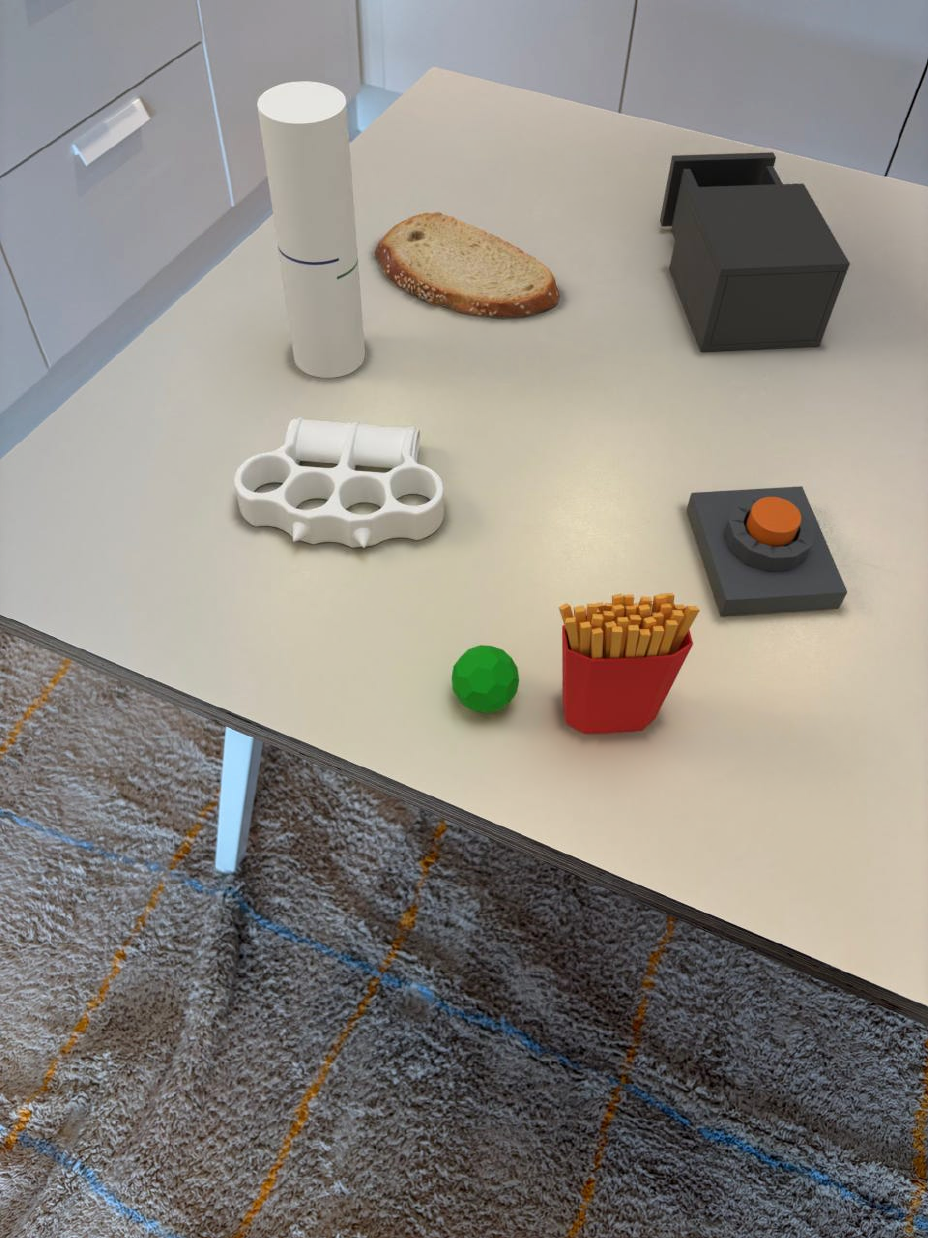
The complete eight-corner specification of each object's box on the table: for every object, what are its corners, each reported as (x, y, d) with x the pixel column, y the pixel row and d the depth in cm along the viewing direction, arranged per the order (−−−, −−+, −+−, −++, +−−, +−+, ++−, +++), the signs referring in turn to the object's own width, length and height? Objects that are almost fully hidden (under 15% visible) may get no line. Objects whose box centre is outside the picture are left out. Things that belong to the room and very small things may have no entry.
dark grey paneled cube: (668, 269, 110) (685, 187, 103) (778, 264, 111) (803, 182, 104) (700, 352, 102) (721, 268, 94) (819, 346, 103) (850, 263, 95)
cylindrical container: (284, 342, 101) (246, 89, 81) (351, 326, 103) (329, 75, 83) (306, 385, 97) (271, 130, 77) (375, 367, 99) (358, 113, 79)
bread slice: (567, 311, 105) (571, 280, 102) (401, 334, 102) (400, 303, 99) (520, 220, 116) (523, 189, 113) (368, 238, 113) (366, 208, 110)
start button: (740, 512, 83) (745, 497, 82) (787, 509, 83) (793, 494, 82) (753, 548, 81) (759, 533, 79) (801, 545, 81) (808, 530, 79)
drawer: (651, 201, 117) (663, 135, 111) (745, 198, 118) (762, 132, 112) (686, 290, 107) (702, 223, 100) (789, 285, 107) (811, 219, 101)
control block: (685, 509, 88) (695, 477, 85) (795, 503, 89) (808, 470, 86) (720, 617, 81) (731, 585, 78) (839, 608, 82) (855, 577, 78)
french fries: (659, 683, 77) (693, 575, 66) (670, 731, 74) (707, 626, 64) (541, 689, 76) (557, 581, 66) (548, 738, 74) (566, 633, 63)
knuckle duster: (454, 448, 92) (436, 568, 83) (262, 432, 93) (224, 549, 84) (454, 420, 90) (436, 541, 81) (257, 404, 90) (217, 522, 81)
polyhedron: (519, 722, 74) (524, 687, 70) (454, 726, 74) (455, 691, 70) (512, 667, 77) (516, 631, 74) (449, 671, 77) (450, 634, 73)
